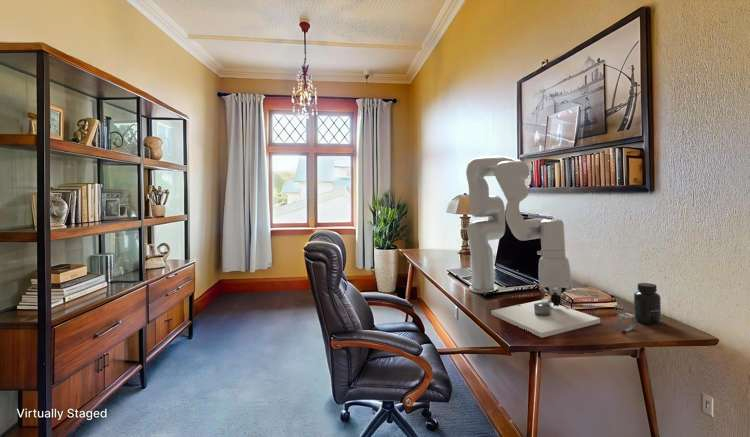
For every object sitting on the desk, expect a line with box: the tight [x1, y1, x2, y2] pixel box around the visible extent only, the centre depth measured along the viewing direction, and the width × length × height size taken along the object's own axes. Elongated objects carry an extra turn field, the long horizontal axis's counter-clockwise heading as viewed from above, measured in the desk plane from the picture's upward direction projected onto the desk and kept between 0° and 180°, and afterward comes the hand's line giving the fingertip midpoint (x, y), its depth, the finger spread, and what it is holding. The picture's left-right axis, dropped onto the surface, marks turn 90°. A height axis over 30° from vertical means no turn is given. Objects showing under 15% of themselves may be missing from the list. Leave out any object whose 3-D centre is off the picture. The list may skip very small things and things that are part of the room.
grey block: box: [534, 295, 551, 316], centre depth 126 cm, size 12×5×3 cm, turn 143°
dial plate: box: [490, 299, 601, 339], centre depth 124 cm, size 24×24×2 cm
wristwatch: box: [616, 312, 637, 333], centre depth 109 cm, size 6×3×5 cm, turn 105°
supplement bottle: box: [633, 282, 662, 326], centre depth 114 cm, size 7×7×12 cm
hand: (556, 305), depth 128 cm, fingers closed
